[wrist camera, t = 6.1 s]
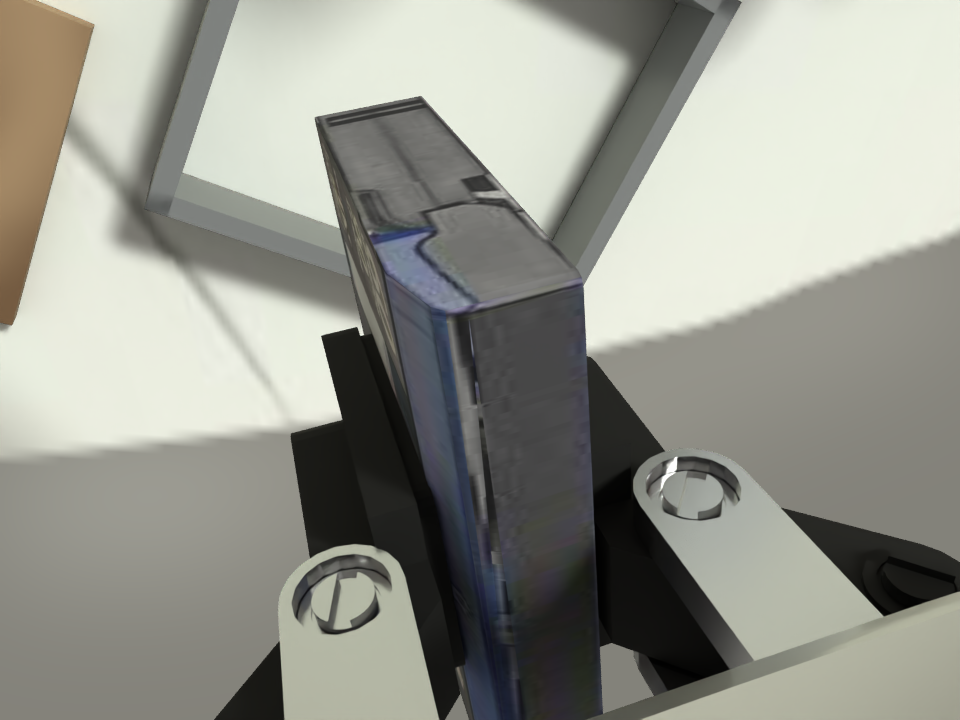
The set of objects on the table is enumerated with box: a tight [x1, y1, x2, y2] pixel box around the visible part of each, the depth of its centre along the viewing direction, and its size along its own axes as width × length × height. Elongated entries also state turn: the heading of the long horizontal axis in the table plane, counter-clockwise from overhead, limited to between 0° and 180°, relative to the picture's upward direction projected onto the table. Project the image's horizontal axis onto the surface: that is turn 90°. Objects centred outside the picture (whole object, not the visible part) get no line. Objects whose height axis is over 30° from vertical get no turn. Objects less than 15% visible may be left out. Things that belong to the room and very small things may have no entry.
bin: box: [144, 0, 741, 286], centre depth 31 cm, size 18×16×3 cm
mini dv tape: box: [315, 96, 603, 720], centre depth 11 cm, size 8×2×6 cm, turn 7°
